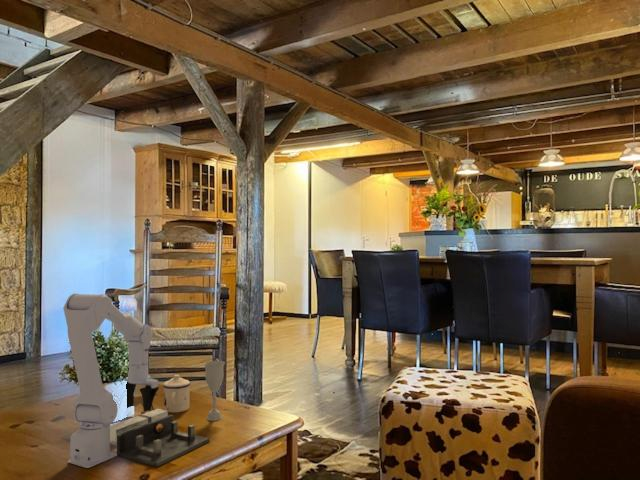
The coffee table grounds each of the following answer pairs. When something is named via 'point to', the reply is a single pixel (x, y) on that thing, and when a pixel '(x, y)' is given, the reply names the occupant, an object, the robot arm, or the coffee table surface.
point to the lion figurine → (139, 402)
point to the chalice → (214, 384)
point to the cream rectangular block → (135, 423)
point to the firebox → (158, 442)
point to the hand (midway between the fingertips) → (138, 408)
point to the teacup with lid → (176, 394)
